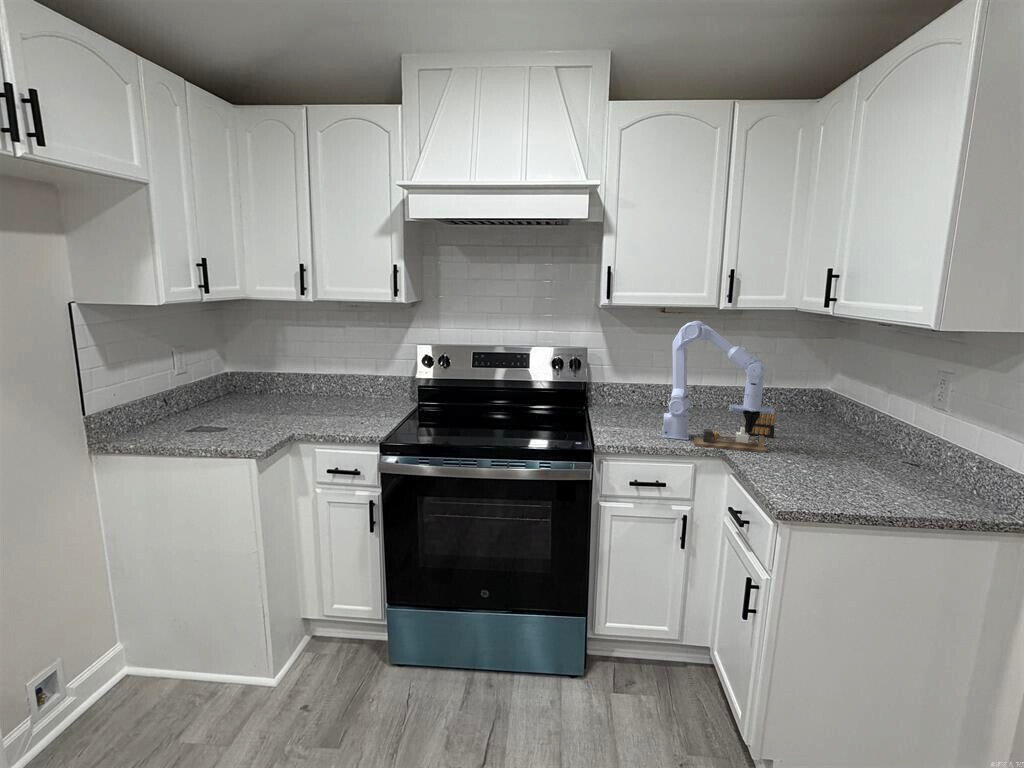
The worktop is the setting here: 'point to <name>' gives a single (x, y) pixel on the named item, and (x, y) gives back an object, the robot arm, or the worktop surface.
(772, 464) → the worktop surface
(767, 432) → the ammunition clip
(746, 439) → the white slotted bracket
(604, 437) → the worktop surface
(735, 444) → the rail board
